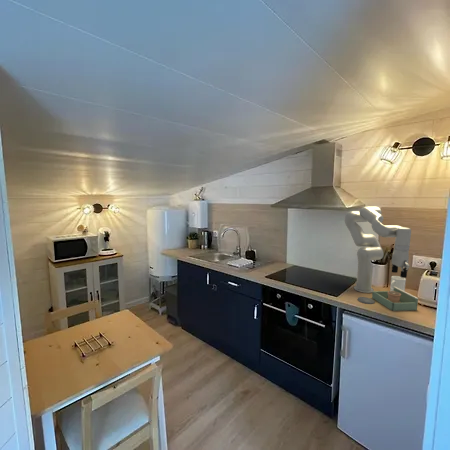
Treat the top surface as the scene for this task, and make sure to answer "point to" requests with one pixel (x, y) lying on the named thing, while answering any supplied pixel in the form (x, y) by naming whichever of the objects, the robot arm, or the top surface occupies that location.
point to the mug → (397, 283)
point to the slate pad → (366, 300)
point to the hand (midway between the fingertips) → (398, 274)
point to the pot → (394, 296)
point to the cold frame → (407, 303)
